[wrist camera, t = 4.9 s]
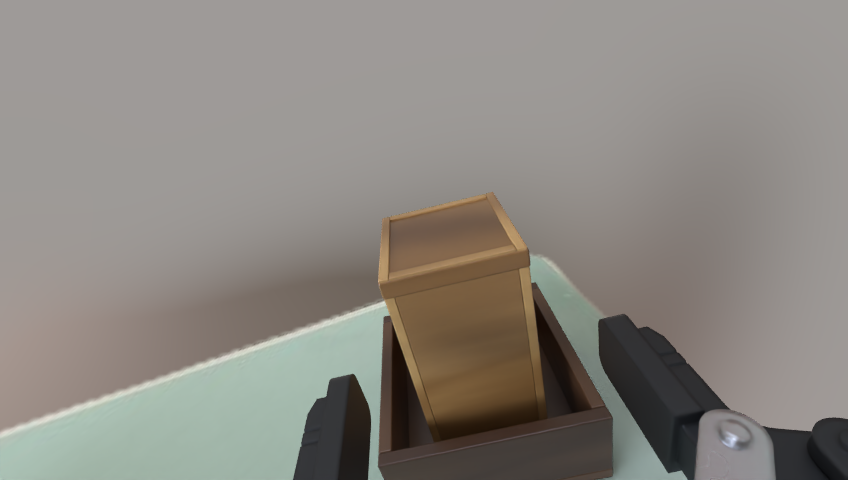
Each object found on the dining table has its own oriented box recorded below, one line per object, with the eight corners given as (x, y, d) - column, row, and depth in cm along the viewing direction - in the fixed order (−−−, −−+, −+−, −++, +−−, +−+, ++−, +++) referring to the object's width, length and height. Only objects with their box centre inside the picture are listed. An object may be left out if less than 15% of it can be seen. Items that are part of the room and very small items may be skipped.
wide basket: (613, 476, 18) (613, 417, 16) (402, 519, 18) (377, 467, 16) (541, 331, 26) (535, 281, 24) (399, 362, 27) (383, 316, 25)
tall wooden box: (551, 436, 19) (528, 246, 14) (438, 460, 20) (376, 282, 14) (518, 352, 24) (493, 190, 19) (429, 372, 25) (381, 218, 19)
